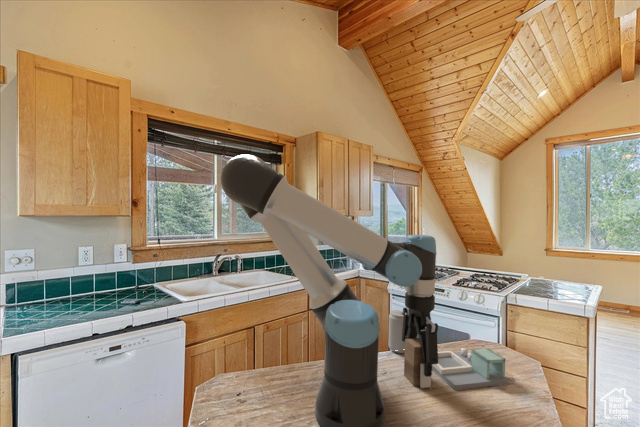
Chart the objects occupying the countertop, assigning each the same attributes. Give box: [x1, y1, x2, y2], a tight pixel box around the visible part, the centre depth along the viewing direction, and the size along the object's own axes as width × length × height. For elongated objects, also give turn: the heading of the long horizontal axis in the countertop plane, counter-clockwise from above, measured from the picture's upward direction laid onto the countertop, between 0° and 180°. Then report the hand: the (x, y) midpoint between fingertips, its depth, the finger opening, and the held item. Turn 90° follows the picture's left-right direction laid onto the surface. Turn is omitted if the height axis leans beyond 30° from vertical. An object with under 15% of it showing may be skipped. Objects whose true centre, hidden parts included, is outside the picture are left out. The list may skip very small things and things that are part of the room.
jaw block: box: [403, 337, 423, 387], centre depth 81 cm, size 5×5×10 cm
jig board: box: [432, 347, 509, 391], centre depth 86 cm, size 16×16×3 cm
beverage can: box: [387, 309, 406, 354], centre depth 98 cm, size 6×6×12 cm
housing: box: [470, 348, 506, 379], centre depth 83 cm, size 6×6×5 cm
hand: (417, 378), depth 81 cm, fingers open, 7 cm apart
